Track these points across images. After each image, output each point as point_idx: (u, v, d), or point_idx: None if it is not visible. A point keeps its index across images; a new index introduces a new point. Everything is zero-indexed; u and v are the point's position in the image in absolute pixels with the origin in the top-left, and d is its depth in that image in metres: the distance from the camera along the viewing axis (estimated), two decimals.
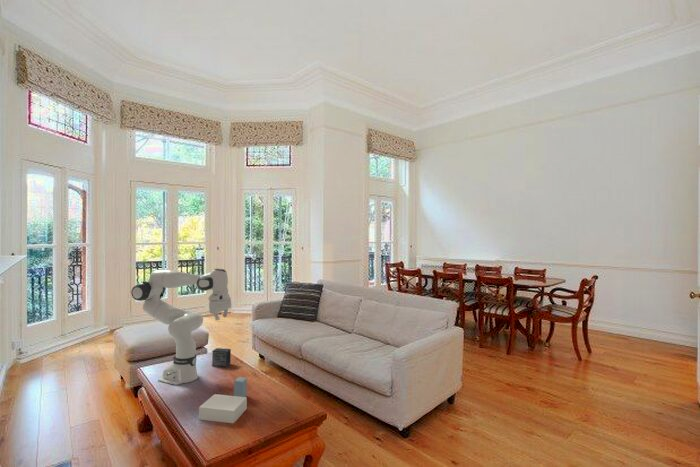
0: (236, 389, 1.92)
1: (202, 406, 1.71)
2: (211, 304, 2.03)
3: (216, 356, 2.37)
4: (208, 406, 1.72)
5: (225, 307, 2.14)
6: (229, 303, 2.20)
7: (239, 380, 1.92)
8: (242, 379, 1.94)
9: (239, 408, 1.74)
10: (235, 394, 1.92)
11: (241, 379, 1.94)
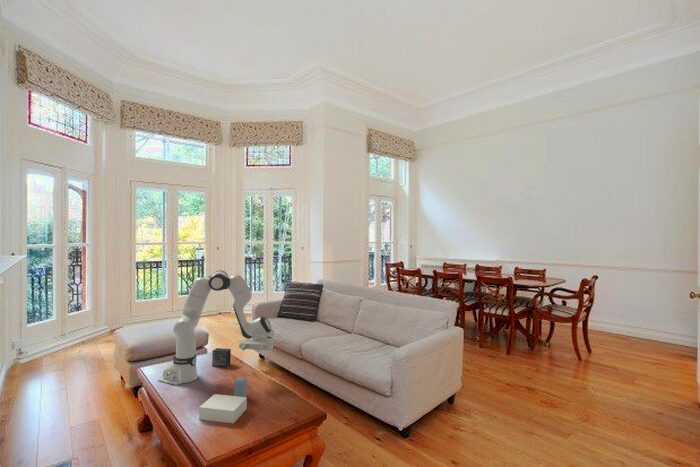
0: (236, 389, 1.92)
1: (202, 406, 1.71)
2: (272, 343, 2.14)
3: (216, 356, 2.37)
4: (208, 406, 1.72)
5: None
6: None
7: (239, 380, 1.92)
8: (242, 379, 1.94)
9: (239, 408, 1.74)
10: (235, 394, 1.92)
11: (241, 379, 1.94)
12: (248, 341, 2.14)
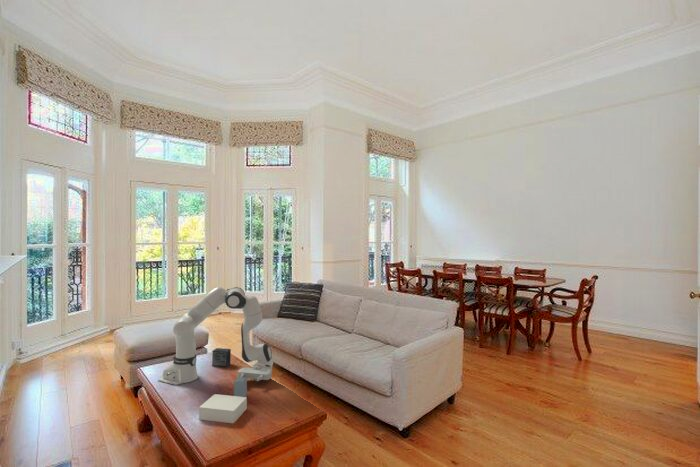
0: (236, 389, 1.92)
1: (202, 406, 1.71)
2: (271, 372, 2.13)
3: (216, 356, 2.37)
4: (208, 406, 1.72)
5: None
6: None
7: (239, 380, 1.92)
8: (242, 379, 1.94)
9: (239, 408, 1.74)
10: (235, 394, 1.92)
11: (241, 379, 1.94)
12: (247, 370, 2.14)
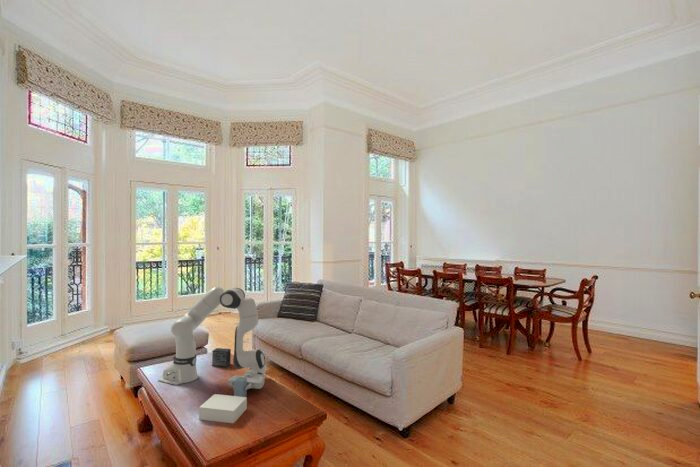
0: (236, 389, 1.92)
1: (202, 406, 1.71)
2: (263, 380, 2.01)
3: (216, 356, 2.37)
4: (208, 406, 1.72)
5: None
6: None
7: (239, 380, 1.92)
8: (242, 379, 1.94)
9: (239, 408, 1.74)
10: (235, 394, 1.92)
11: (241, 379, 1.94)
12: None
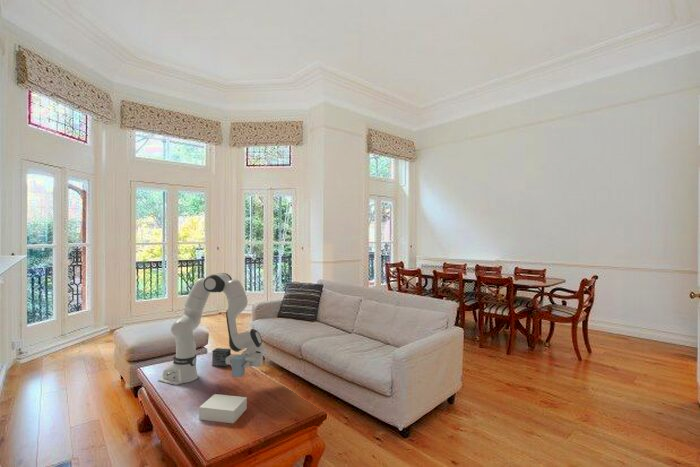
0: (234, 367, 1.89)
1: (202, 406, 1.71)
2: (262, 359, 1.99)
3: (216, 356, 2.37)
4: (208, 406, 1.72)
5: None
6: None
7: (237, 358, 1.89)
8: (240, 357, 1.91)
9: (239, 408, 1.74)
10: (233, 372, 1.89)
11: (239, 357, 1.91)
12: None
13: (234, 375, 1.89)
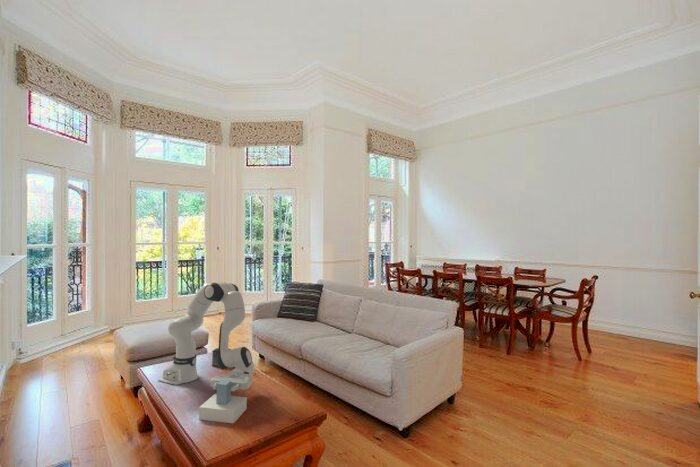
0: (219, 393, 1.74)
1: (202, 406, 1.71)
2: (249, 381, 1.84)
3: (216, 356, 2.37)
4: (208, 406, 1.72)
5: None
6: None
7: (222, 383, 1.75)
8: (226, 382, 1.76)
9: (239, 408, 1.74)
10: (218, 398, 1.74)
11: (225, 382, 1.76)
12: (221, 377, 1.84)
13: (219, 402, 1.74)
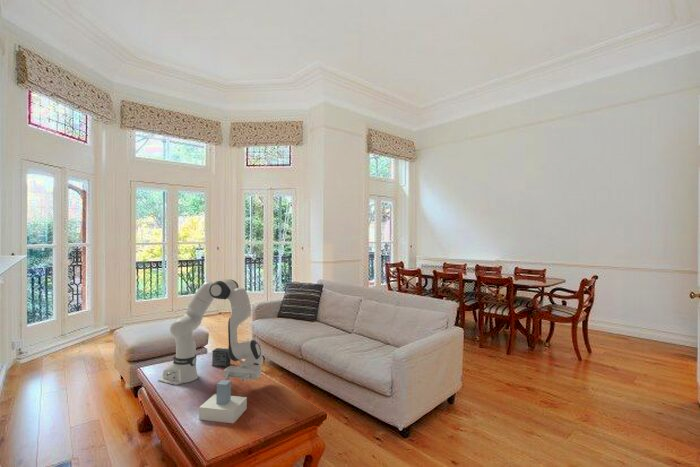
0: (219, 393, 1.74)
1: (202, 406, 1.71)
2: (259, 371, 1.96)
3: (216, 356, 2.37)
4: (208, 406, 1.72)
5: None
6: None
7: (222, 383, 1.75)
8: (226, 382, 1.76)
9: (239, 408, 1.74)
10: (218, 398, 1.74)
11: (225, 382, 1.76)
12: (233, 368, 1.96)
13: (219, 402, 1.74)
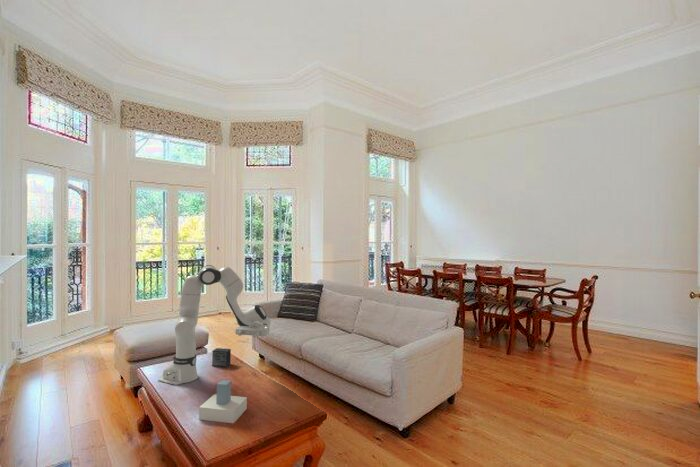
0: (219, 393, 1.74)
1: (202, 406, 1.71)
2: (268, 330, 2.18)
3: (216, 356, 2.37)
4: (208, 406, 1.72)
5: None
6: None
7: (222, 383, 1.75)
8: (226, 382, 1.76)
9: (239, 408, 1.74)
10: (218, 398, 1.74)
11: (225, 382, 1.76)
12: (244, 327, 2.18)
13: (219, 402, 1.74)
